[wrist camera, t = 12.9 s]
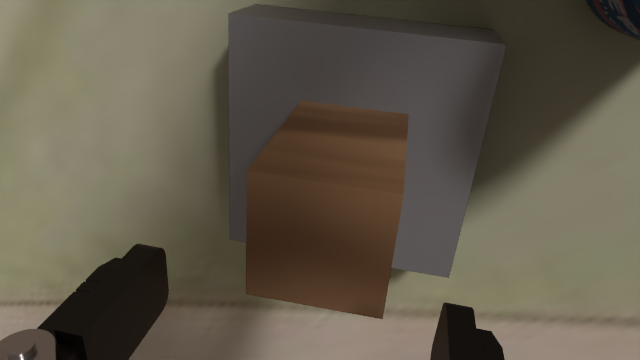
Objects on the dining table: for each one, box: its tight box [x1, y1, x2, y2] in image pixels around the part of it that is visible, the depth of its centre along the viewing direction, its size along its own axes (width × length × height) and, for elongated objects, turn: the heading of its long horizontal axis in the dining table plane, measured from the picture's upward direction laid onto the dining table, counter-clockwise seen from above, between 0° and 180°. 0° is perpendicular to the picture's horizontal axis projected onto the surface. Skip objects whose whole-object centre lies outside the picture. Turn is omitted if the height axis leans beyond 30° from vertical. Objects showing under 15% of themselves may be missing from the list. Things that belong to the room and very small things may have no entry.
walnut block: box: [246, 101, 409, 319], centre depth 20 cm, size 5×5×8 cm
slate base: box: [228, 4, 507, 278], centre depth 25 cm, size 12×12×4 cm
